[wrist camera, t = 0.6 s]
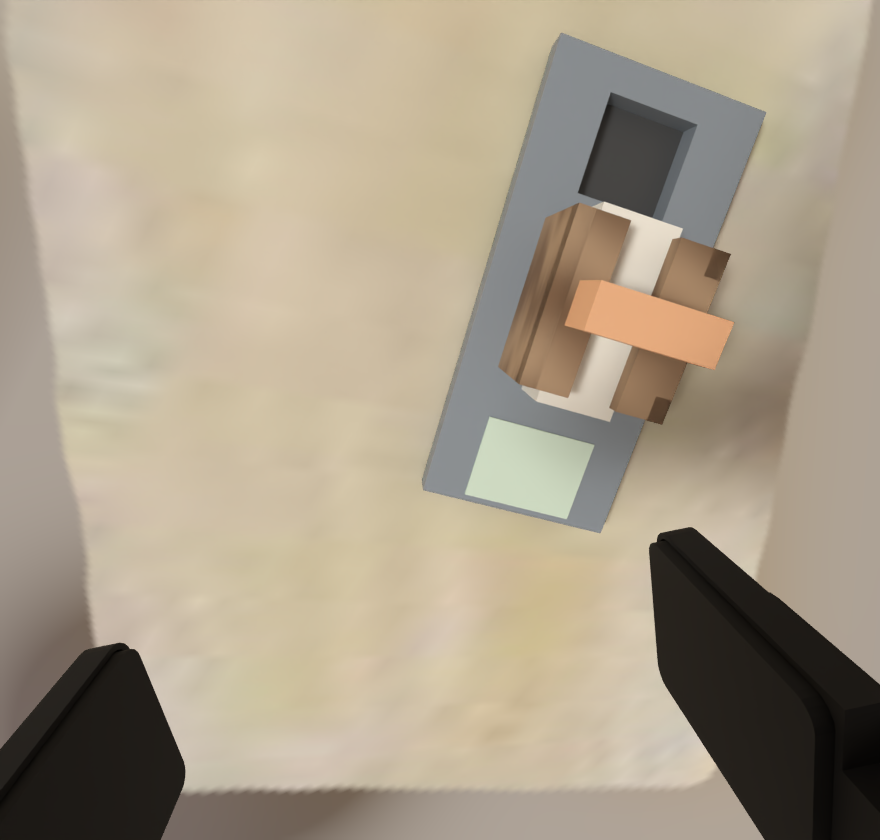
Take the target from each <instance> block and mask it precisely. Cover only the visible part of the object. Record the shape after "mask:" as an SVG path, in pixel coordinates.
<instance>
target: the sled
mask: <svg viewBox="0 0 880 840" xmlns="http://www.w3.org/2000/svg"><path fill="white" fill-rule="evenodd" d="M592 207H594V208H597V209H600V210H603V211H606V212H609V213H612V214H614V215H617V216H620V217H623V218H626V219H629V220H631V223H630V226H629V228H628V231H627V234H626V237H625V240H624V243H623V245H622V248H621V251H620V254H619V257H618V259H617V262H616V265H615V268H614V271H613V273H612V276H611V279H610V282H606V281H603V280H580V282H579V284H578V287H577V290H576V293H575V296H574V299H573V302H572V305H571V308H570V311H569V314H568V317H567V320H566V322H565V326H568V327H571V328H574V329H578V330H581V331H584V332H588V333H591V335H590V338H589V341H588V344H587V347H586V349H585V352H584V355H583V358H582V361H581V363H580V366H579V369H578V372H577V375H576V378H575V380H574V383H573V386H572V389H571V392H570V394H569V397H568V398H565V397H562V396H558V395H555V394H551V393H548V392H544V391H541V390H537V389H533V388H530V387H526V386H523V385H522V388H521V389H522V390H523V391H525V392H526V393H527V394H528V395H529V396H530V397H532V398H533V399H534V400H535V401H536V402H540V403H544V404H547V405H551V406H554V407H558V408H562V409H565V410H569V411H572V412H576V413H580V414H583V415H587V416H590V417H594V418H598V419H601V420H605V421H608V422H610V420H611V418H612V415H613V412H614V410H612V409H610V408H609V407H610V404H611V401H612V399H613V396H614V393H615V391H616V388H617V385H618V383H619V380H620V377H621V375H622V372H623V369H624V367H625V364H626V361H627V359H628V356H629V353H630V351H631V348H632V346H634V347H637V348H641V349H644V350H647V351H650V352H654V353H657V354H660V355H664V356H667V357H670V358H674V359H677V360H680V361H684V362H687V363H691V364H695V365H698V366H702V367H706V368H709V369H713V370H715V367H716V365H717V363H718V360H719V358H720V355H721V353H722V351H723V348H724V346H725V343H726V341H727V339H728V336H729V334H730V331H731V329H732V327H733V324H734V322H732V321H729V320H725V319H722V318H719V317H716V316H713V315H710V314H707V313H704V312H700V311H697V310H694V309H691V308H688V307H685V306H682V305H678V304H675V303H672V302H669V301H666V300H663V299H660V298H657V297H653V296H651V295H652V292H653V289H654V287H655V284H656V281H657V279H658V276H659V273H660V271H661V268H662V265H663V263H664V260H665V257H666V255H667V252H668V249H669V247H670V244H671V241H672V239H675V238H680V235H681V233H682V230H683V228H680V227H677V226H674V225H671V224H668V223H665V222H662V221H659V220H657V219H654V218H651V217H648V216H645V215H642V214H639V213H636V212H633V211H630V210H627V209H624V208H622V207H619V206H616V205H613V204H610V203H607V202H602V203H600V204H597V205H595V206H592Z"/></svg>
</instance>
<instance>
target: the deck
mask: <svg viewBox="0 0 880 840" xmlns="http://www.w3.org/2000/svg"><path fill="white" fill-rule="evenodd" d="M765 115H766V112H764V111H762V110H759V109H757V108H754V107H751V106H749V105H746V104H744V103H741V102H739V101H736V100H733V99H731V98H728V97H726V96H723V95H721V94H718V93H715V92H713V91H710V90H708V89H705V88H703V87H700V86H697V85H695V84H692V83H690V82H687V81H685V80H682V79H679V78H677V77H674V76H672V75H669V74H667V73H664V72H661V71H659V70H656V69H654V68H651V67H649V66H646V65H643V64H641V63H638V62H636V61H633V60H630V59H628V58H625V57H623V56H620V55H618V54H615V53H612V52H610V51H607V50H605V49H602V48H600V47H597V46H594V45H592V44H589V43H587V42H584V41H582V40H579V39H576V38H574V37H571V36H569V35H566V34H564V33H561V34H560V35H559V37H558V39H557V40H556V42H555V43H554V45H553V46H552V48H551V52H550V55H549V58H548V62H547V65H546V68H545V72H544V75H543V78H542V82H541V85H540V88H539V92H538V95H537V98H536V102H535V105H534V108H533V112H532V115H531V118H530V122H529V125H528V128H527V132H526V135H525V138H524V142H523V145H522V148H521V152H520V155H519V158H518V162H517V165H516V168H515V172H514V175H513V178H512V182H511V185H510V188H509V192H508V195H507V198H506V202H505V205H504V208H503V212H502V215H501V218H500V222H499V225H498V228H497V232H496V235H495V238H494V242H493V245H492V248H491V252H490V255H489V258H488V262H487V265H486V268H485V272H484V275H483V278H482V282H481V285H480V288H479V292H478V295H477V298H476V301H475V305H474V308H473V311H472V315H471V318H470V321H469V325H468V328H467V331H466V335H465V338H464V341H463V345H462V348H461V351H460V355H459V358H458V361H457V365H456V368H455V371H454V375H453V378H452V381H451V385H450V388H449V391H448V395H447V398H446V401H445V405H444V408H443V411H442V415H441V418H440V421H439V425H438V428H437V431H436V435H435V438H434V441H433V445H432V448H431V451H430V455H429V458H428V461H427V465H426V468H425V471H424V475H423V478H422V485H423V490H425V491H429V492H433V493H437V494H441V495H445V496H449V497H453V498H458V499H462V500H466V501H470V502H474V503H478V504H482V505H486V506H490V507H494V508H499V509H503V510H507V511H511V512H515V513H519V514H523V515H527V516H531V517H536V518H540V519H544V520H548V521H552V522H556V523H560V524H564V525H568V526H572V527H577V528H581V529H585V530H589V531H593V532H597V533H601V530H602V528H603V525H604V523H605V520H606V518H607V515H608V513H609V510H610V508H611V505H612V503H613V500H614V498H615V495H616V492H617V490H618V487H619V485H620V482H621V480H622V477H623V475H624V472H625V470H626V467H627V465H628V462H629V459H630V457H631V454H632V452H633V449H634V447H635V444H636V442H637V439H638V437H639V434H640V432H641V429H642V427H643V424H644V421H645V420H644V419H640V418H637V417H633V416H629V415H626V414H622V413H619V412H615V411H614V412H613V415H612V418H611V420H610V422H608V421H605V420H601V419H598V418H594V417H590V416H587V415H583V414H580V413H576V412H572V411H569V410H565V409H562V408H558V407H554V406H551V405H547V404H544V403H540V402H536V401H535V400H534V399H533V398H532V397H530V396H529V395H528V394H527V393H526V392H525V391H523V390H522V389H521V388H522V385H519V384H518V383H517V382H516V381H514V380H513V379H512V378H511V377H510V376H508V375H507V374H506V373H505V372H504V371H502V370H501V369H500V368H499V367H498V365H499V362H500V359H501V356H502V353H503V350H504V346H505V343H506V340H507V337H508V334H509V331H510V328H511V325H512V321H513V318H514V315H515V312H516V309H517V306H518V303H519V299H520V296H521V293H522V290H523V287H524V284H525V281H526V277H527V274H528V271H529V268H530V265H531V262H532V259H533V256H534V252H535V249H536V246H537V243H538V240H539V237H540V234H541V230H542V227H543V224H544V221H545V218H546V217H548V216H551V215H553V214H555V213H557V212H560V211H562V210H564V209H566V208H568V207H571V206H573V205H575V204H577V203H582V204H585V205H588V206H591V207H592V206H595V205H597V204H600V203H602V202H607V203H610V204H613V205H616V206H619V207H622V208H624V209H627V210H630V211H633V212H636V213H639V214H642V215H645V216H648V217H651V218H654V219H657V220H659V221H662V222H665V223H668V224H671V225H674V226H677V227H680V228H683V230H682V233H681V235H680V238H681V237H682V238H685V239H688V240H691V241H694V242H697V243H700V244H703V245H706V246H709V247H711V248H713V246H714V244H715V241H716V239H717V236H718V234H719V231H720V229H721V226H722V224H723V221H724V219H725V216H726V213H727V211H728V208H729V206H730V203H731V201H732V198H733V196H734V193H735V191H736V188H737V186H738V183H739V180H740V178H741V175H742V173H743V170H744V168H745V165H746V163H747V160H748V158H749V155H750V153H751V150H752V148H753V145H754V142H755V140H756V137H757V135H758V132H759V130H760V127H761V125H762V122H763V120H764V117H765Z"/></svg>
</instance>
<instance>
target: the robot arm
mask: <svg viewBox="0 0 880 840" xmlns="http://www.w3.org/2000/svg"><path fill="white" fill-rule="evenodd" d="M649 556H650V569H651V581H652V594H653V607H654V620H655V633H656V646H657V658H658V667H659V671H660V674H661V677H662V680H663V682H664V684H665V686H666V687H667V689H668V691H669V692H670V694H671V695H672V697H673V698H674V700H675V701H676V703H677V705H678V706H679V708H680V709H681V711H682V712H683V714H684V715H685V717H686V718H687V720H688V722H689V723H690V725H691V726H692V728H693V729H694V731H695V732H696V734H697V736H698V737H699V739H700V740H701V742H702V743H703V745H704V746H705V748H706V749H707V751H708V753H709V754H710V756H711V757H712V759H713V760H714V762H715V763H716V765H717V767H718V768H719V770H720V771H721V773H722V774H723V776H724V777H725V779H726V780H727V782H728V784H729V785H730V787H731V788H732V789H733V791H734V793H735V794H736V796H737V797H738V799H739V801H740V802H741V804H742V805H743V807H744V808H745V810H746V811H747V813H748V815H749V816H750V818H751V819H752V821H753V822H754V824H755V825H756V827H757V828H758V830H759V832H760V833H761V835H762V836H763V838H764V839H765V840H880V684H879V683H877V682H876V681H875V680H874V679H873V678H871V677H870V676H869V675H868V674H867V673H866V672H865V671H863V670H862V669H861V668H860V667H859V666H857V665H856V664H855V663H854V662H853V661H852V660H850V659H849V658H848V657H847V656H846V655H845V654H843V653H842V652H841V651H840V650H839V649H838V648H836V647H835V646H834V645H833V644H832V643H831V642H829V641H828V640H827V639H826V638H825V637H824V636H822V635H821V634H820V633H819V632H818V631H817V630H815V629H814V628H813V627H812V626H810V625H809V624H808V623H807V622H806V621H805V620H804V619H802V618H801V617H800V616H799V615H797V613H795V612H794V611H793V610H792V609H791V608H790V607H788V606H787V605H786V604H785V603H784V602H783V601H781V600H780V599H779V598H778V597H776V596H775V595H773V594H771V593H769V592H767V591H766V590H765V589H764V588H763V587H762V586H760V585H759V584H758V583H757V582H756V581H755V580H754V579H752V578H751V577H750V576H749V575H748V574H747V573H745V572H744V571H743V570H742V569H741V568H740V567H738V566H737V565H736V564H735V563H734V562H733V561H732V560H730V559H729V558H728V557H727V556H726V555H725V554H723V553H722V552H721V551H720V550H719V549H718V548H716V547H715V546H714V545H713V544H712V543H711V542H709V541H708V540H707V539H706V538H705V537H704V536H703V535H701V534H700V533H699V532H698V531H697V530H695V529H694V528H692V527H688V528H683V529H678V530H673V531H668V532H663V533H660V534H659V535H658V538H657V542H656V543H651V544H650V547H649ZM184 781H185V765H184V761H183V759H182V756H181V754H180V751H179V749H178V747H177V744H176V742H175V739H174V737H173V734H172V732H171V730H170V727H169V725H168V722H167V720H166V718H165V715H164V713H163V710H162V708H161V706H160V703H159V701H158V698H157V696H156V693H155V691H154V689H153V686H152V684H151V681H150V679H149V677H148V674H147V672H146V669H145V667H144V664H143V662H142V660H141V657H140V655H139V653H138V652H137V651H136V650H135V649H129V647H128V646H127V645H126V644H124V643H116V644H111V645H106V646H101V647H96V648H92V649H88V650H85V651H84V652H83V653H82V654H81V655H79V657H78V658H77V659H76V660H75V661H74V663H73V664H72V665H71V666H70V667H69V668H68V670H67V671H66V672H65V673H64V674H63V676H62V677H61V678H60V679H59V680H58V681H57V683H56V684H55V685H54V686H53V687H52V689H51V690H50V691H49V692H48V693H47V695H46V696H45V697H44V698H43V699H42V700H41V702H40V703H39V704H38V705H37V707H36V708H35V709H34V710H33V711H32V712H31V713H30V715H29V716H28V717H27V718H26V720H25V721H24V722H23V723H22V724H21V725H20V726H19V728H18V729H17V730H16V731H15V733H14V734H13V735H12V736H11V737H10V738H9V740H8V741H7V742H6V743H5V744H4V745H3V747H2V748H1V749H0V840H161V837H162V835H163V833H164V830H165V828H166V826H167V824H168V821H169V819H170V817H171V814H172V812H173V809H174V807H175V805H176V802H177V800H178V798H179V795H180V793H181V791H182V788H183V785H184Z"/></svg>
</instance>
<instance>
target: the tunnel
mask: <svg viewBox="0 0 880 840" xmlns="http://www.w3.org/2000/svg"><path fill="white" fill-rule="evenodd" d="M630 223H631V220H629V219H626V218H623V217H620V216H617V215H614V214H612V213H609V212H606V211H603V210H600V209H597V208H594V207H591V206H588V205H585V204H582V203H577V204H575V205H573V206H571V207H568V208H566V209H564V210H562V211H560V212H557V213H555V214H553V215H551V216H548V217H546V218H545V221H544V224H543V227H542V230H541V234H540V237H539V240H538V243H537V246H536V249H535V252H534V256H533V259H532V262H531V265H530V268H529V271H528V274H527V277H526V281H525V284H524V287H523V290H522V293H521V296H520V299H519V303H518V306H517V309H516V312H515V315H514V318H513V321H512V325H511V328H510V331H509V334H508V337H507V340H506V343H505V346H504V350H503V353H502V356H501V359H500V362H499V365H498V367H499V368H500V369H501V370H502V371H504V372H505V373H506V374H507V375H508V376H510V377H511V378H512V379H513V380H514V381H516V382H517V383H518V384H519V385H523V386H526V387H530V388H533V389H537V390H541V391H544V392H548V393H551V394H555V395H558V396H562V397H565V398H568V397H569V394H570V392H571V389H572V386H573V383H574V380H575V378H576V375H577V372H578V369H579V366H580V363H581V361H582V358H583V355H584V352H585V349H586V347H587V344H588V341H589V338H590V335H591V333H588V332H584V331H581V330H578V329H574V328H571V327H568V326H565V322H566V320H567V317H568V314H569V311H570V308H571V305H572V302H573V299H574V296H575V293H576V290H577V287H578V284H579V282H580V280H603V281H606V282H610V279H611V276H612V273H613V271H614V268H615V265H616V262H617V259H618V257H619V254H620V251H621V248H622V245H623V243H624V240H625V237H626V234H627V231H628V228H629V226H630ZM730 255H731V254H729V253H726V252H723V251H720V250H717V249H714V248H711V247H709V246H706V245H703V244H700V243H697V242H694V241H691V240H688V239H685V238H682V237H681V238H675V239H672V241H671V244H670V247H669V249H668V252H667V255H666V257H665V260H664V263H663V265H662V268H661V271H660V273H659V276H658V279H657V281H656V284H655V287H654V289H653V292H652V295H651V296H653V297H657V298H660V299H663V300H666V301H669V302H672V303H675V304H678V305H682V306H685V307H688V308H691V309H694V310H697V311H700V312H704V313H707V312H708V309H709V307H710V305H711V302H712V300H713V297H714V295H715V292H716V290H717V287H718V285H719V282H720V280H721V277H722V275H723V272H724V270H725V267H726V265H727V262H728V260H729V257H730ZM686 364H687V362H684V361H680V360H677V359H674V358H670V357H667V356H664V355H660V354H657V353H654V352H650V351H647V350H644V349H641V348H637V347H634V346H632V348H631V351H630V353H629V356H628V359H627V361H626V364H625V367H624V369H623V372H622V375H621V377H620V380H619V383H618V385H617V388H616V391H615V393H614V396H613V399H612V401H611V404H610V407H609V408H610V409H612V410H614V411H615V412H619V413H622V414H626V415H629V416H633V417H637V418H640V419H644V420H647V421H651V422H654V423H658V424H661V425H662V424H663V421H664V419H665V416H666V414H667V411H668V409H669V406H670V404H671V401H672V399H673V396H674V394H675V391H676V389H677V386H678V384H679V381H680V379H681V376H682V374H683V372H684V369H685V367H686Z"/></svg>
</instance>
